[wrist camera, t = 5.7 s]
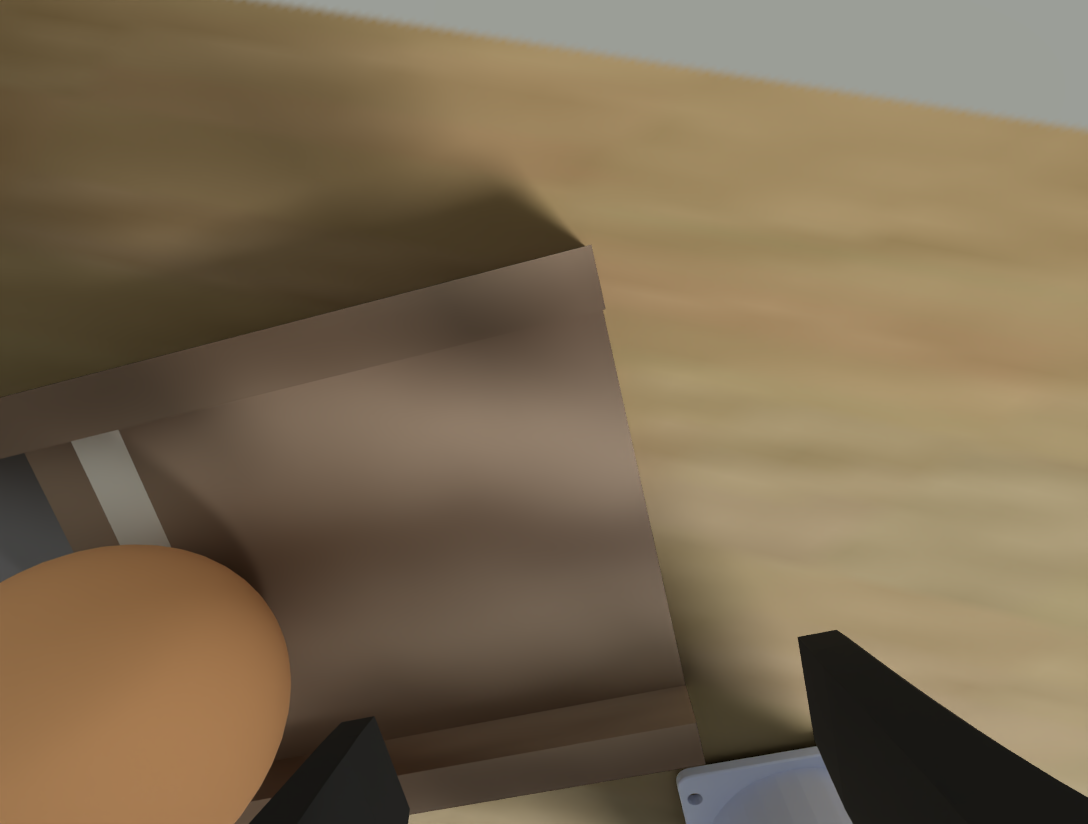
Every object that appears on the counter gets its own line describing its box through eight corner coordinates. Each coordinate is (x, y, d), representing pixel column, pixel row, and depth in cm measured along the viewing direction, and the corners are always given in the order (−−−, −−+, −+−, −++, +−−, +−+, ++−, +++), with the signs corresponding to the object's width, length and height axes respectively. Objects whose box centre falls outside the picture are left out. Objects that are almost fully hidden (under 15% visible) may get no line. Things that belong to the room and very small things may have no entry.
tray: (684, 689, 20) (735, 869, 14) (-46, 823, 22) (-258, 1020, 17) (586, 247, 16) (599, 240, 10) (-272, 468, 19) (-645, 563, 13)
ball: (342, 886, 13) (-91, 1134, 11) (334, 662, 20) (78, 783, 18) (167, 590, 10) (-447, 842, 8) (232, 457, 17) (-81, 571, 15)
